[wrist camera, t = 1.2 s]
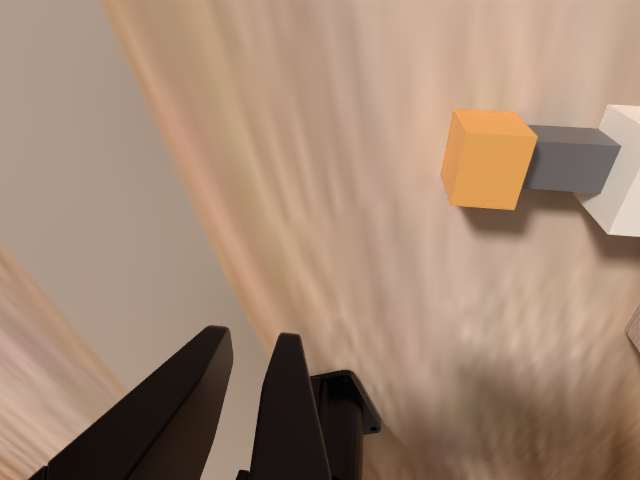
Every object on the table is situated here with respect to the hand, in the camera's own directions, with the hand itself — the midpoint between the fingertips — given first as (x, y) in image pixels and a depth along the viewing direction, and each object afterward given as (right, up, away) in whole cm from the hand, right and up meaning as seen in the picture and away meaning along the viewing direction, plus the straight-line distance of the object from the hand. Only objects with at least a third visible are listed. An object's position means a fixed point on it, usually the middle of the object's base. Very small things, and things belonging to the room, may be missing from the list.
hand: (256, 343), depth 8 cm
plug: (+12, +6, +10) cm, 16 cm away
